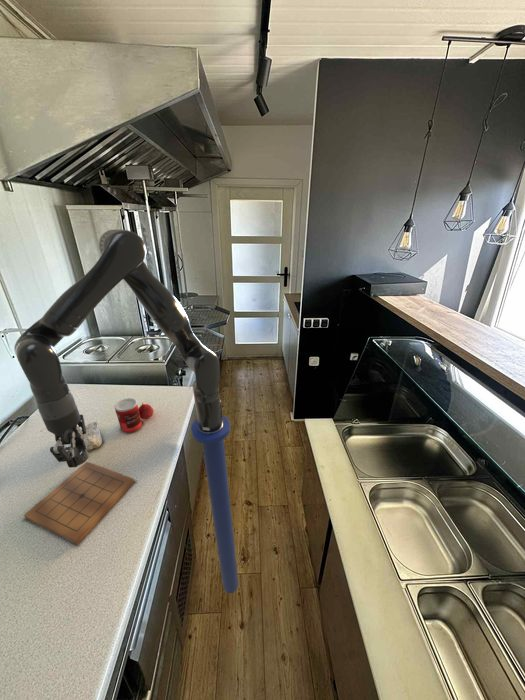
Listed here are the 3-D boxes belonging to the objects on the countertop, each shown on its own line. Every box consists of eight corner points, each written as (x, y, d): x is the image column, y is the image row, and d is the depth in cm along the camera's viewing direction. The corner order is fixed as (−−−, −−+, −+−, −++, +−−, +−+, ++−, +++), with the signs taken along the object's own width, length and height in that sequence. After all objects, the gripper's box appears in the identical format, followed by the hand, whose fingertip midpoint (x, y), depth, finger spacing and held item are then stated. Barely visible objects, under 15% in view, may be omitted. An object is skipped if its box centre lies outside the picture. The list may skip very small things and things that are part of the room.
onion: (157, 415, 119) (153, 399, 115) (150, 424, 114) (146, 408, 110) (144, 413, 120) (140, 398, 116) (136, 422, 114) (132, 406, 111)
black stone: (80, 450, 83) (77, 442, 82) (93, 455, 82) (90, 447, 80) (64, 463, 79) (60, 455, 78) (77, 468, 77) (73, 460, 76)
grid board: (88, 464, 96) (86, 461, 95) (134, 482, 90) (133, 478, 89) (25, 518, 79) (23, 515, 79) (77, 545, 73) (75, 541, 72)
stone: (80, 459, 103) (73, 449, 95) (78, 428, 109) (71, 416, 101) (104, 452, 106) (98, 442, 98) (101, 422, 112) (95, 410, 104)
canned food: (127, 419, 117) (121, 397, 112) (146, 420, 116) (140, 398, 111) (117, 432, 110) (109, 409, 105) (136, 433, 109) (130, 410, 104)
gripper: (61, 426, 67) (82, 477, 74) (85, 392, 80) (101, 438, 87) (26, 430, 66) (51, 481, 73) (56, 394, 79) (75, 441, 86)
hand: (78, 458), depth 80 cm, fingers closed on black stone, 5 cm apart
